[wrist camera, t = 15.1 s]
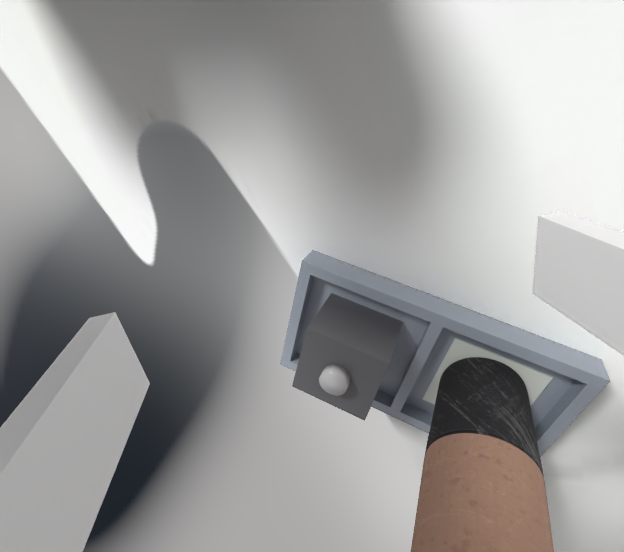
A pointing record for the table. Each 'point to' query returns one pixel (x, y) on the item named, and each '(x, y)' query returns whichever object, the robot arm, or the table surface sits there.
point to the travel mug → (482, 466)
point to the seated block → (346, 354)
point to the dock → (446, 348)
